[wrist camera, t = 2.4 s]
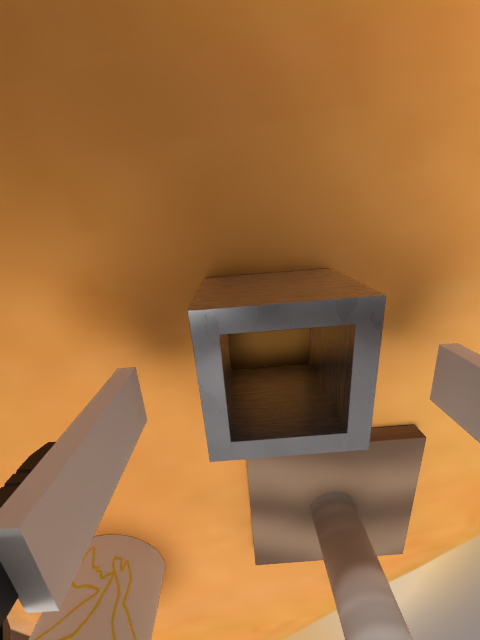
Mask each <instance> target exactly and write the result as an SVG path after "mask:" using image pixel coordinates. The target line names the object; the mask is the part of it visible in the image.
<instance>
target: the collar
mask: <svg viewBox="0 0 480 640" xmlns="http://www.w3.org/2000/svg"><path fill="white" fill-rule="evenodd" d="M385 301H386V295H384V294H382V293H380V292H378V291H376V290H374V289H372V288H370V287H367V286H365V285H363V284H361V283H359V282H357V281H355V280H353V279H351V278H348V277H346V276H344V275H342V274H340V273H338V272H336V271H334V270H332V269H329V268H326V269H314V270H301V271H288V272H275V273H263V274H250V275H237V276H224V277H212V278H204V280H203V282H202V284H201V286H200V288H199V290H198V292H197V294H196V296H195V298H194V300H193V302H192V304H191V306H190V307H189V309H188V316H189V323H190V330H191V336H192V343H193V350H194V357H195V364H196V370H197V377H198V384H199V391H200V398H201V404H202V411H203V418H204V425H205V432H206V438H207V445H208V452H209V459H210V462H214V461H227V460H240V459H253V458H266V457H279V456H292V455H305V454H318V453H331V452H344V451H357V450H369V442H370V433H371V425H372V416H373V407H374V398H375V389H376V380H377V372H378V363H379V354H380V345H381V336H382V328H383V319H384V310H385ZM299 328H310V364H304V365H292V366H279V367H266V368H253V369H240V370H231V361H230V351H229V340H228V334H235V333H248V332H261V331H274V330H286V329H299Z"/></svg>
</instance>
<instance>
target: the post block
mask: <svg viewBox="0 0 480 640" xmlns="http://www.w3.org/2000/svg"><path fill="white" fill-rule="evenodd" d="M425 441H426V437H425V435H424V434H423V433H422V432H421V431H420V430H419V429H418V428H417V427H416V425H405V426H392V427H379V428H371V433H370V442H369V450H357V451H344V452H331V453H318V454H305V455H292V456H279V457H266V458H253V459H247V471H248V482H249V494H250V506H251V517H252V529H253V540H254V552H255V564H256V565H264V564H277V563H291V562H304V561H317V560H324V563H325V566H326V570H327V574H328V577H329V581H330V585H331V588H332V592H333V596H334V600H335V603H336V607H337V611H338V614H339V618H340V622H341V626H342V629H343V632H344V637H345V640H413V639H412V637H411V634H410V632H409V630H408V628H407V625H406V623H405V621H404V618H403V616H402V613H401V611H400V609H399V607H398V604H397V602H396V600H395V597H394V595H393V593H392V591H391V588H390V586H389V583H388V581H387V579H386V576H385V574H384V572H383V569H382V567H381V565H380V562H379V560H378V558H377V556H382V555H395V554H403V550H404V545H405V540H406V535H407V530H408V525H409V520H410V515H411V510H412V505H413V501H414V496H415V491H416V486H417V481H418V476H419V471H420V466H421V461H422V456H423V451H424V446H425Z"/></svg>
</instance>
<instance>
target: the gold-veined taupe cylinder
mask: <svg viewBox="0 0 480 640" xmlns="http://www.w3.org/2000/svg"><path fill="white" fill-rule="evenodd" d="M164 571H165V563H164V560H163V558H162V556H161V555H160V553H159V552H158V551H157V550H156V549H155V548H154V547H152V546H151V545H149V544H148V543H146V542H144V541H142V540H139V539H136V538H133V537H129V536H124V535H101V536H96V537H93V538H92V540H91V543H90V545H89V547H88V549H87V551H86V553H85V556H84V558H83V560H82V562H81V564H80V566H79V569H78V571H77V573H76V575H75V577H74V579H73V582H72V584H71V586H70V588H69V590H68V592H67V595H66V597H65V599H64V601H63V603H62V605H61V608H60V610H59V611H49V612H42V614H41V616H40V618H39V620H38V622H37V624H36V626H35V628H34V630H33V632H32V634H31V636H30V639H29V640H151V638H152V632H153V627H154V622H155V617H156V612H157V607H158V602H159V597H160V592H161V587H162V581H163V576H164Z"/></svg>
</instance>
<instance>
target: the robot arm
mask: <svg viewBox="0 0 480 640" xmlns="http://www.w3.org/2000/svg"><path fill="white" fill-rule="evenodd" d="M430 400H431V401H432V402H433V403H435V404H436V405H437V406H438V407H439V408H440V409H441V410H443V411H444V412H445V413H446V414H447V415H448V416H449V417H451V418H452V419H453V420H454V421H455V422H456V423H457V424H459V425H460V426H461V427H462V428H463V429H464V430H466V431H467V432H468V433H469V434H470V435H471V436H472V437H474V438H475V439H476V440H477V441H478V442H479V443H480V355H479V354H477V353H475V352H473V351H471V350H469V349H468V348H466V347H464V346H462V345H460V344H458V343H454V344H441V345H439V350H438V356H437V361H436V367H435V373H434V378H433V384H432V390H431V395H430ZM146 421H147V417H146V412H145V408H144V403H143V399H142V394H141V390H140V385H139V381H138V376H137V372H136V367H133V368H120V369H117V370H116V372H115V373H114V374H113V375H112V376H111V377H110V379H109V380H108V381H107V382H106V383H105V385H104V386H103V387H102V388H101V389H100V391H99V392H98V393H97V394H96V395H95V396H94V398H93V399H92V400H91V401H90V402H89V404H88V405H87V406H86V407H85V408H84V410H83V411H82V412H81V413H80V414H79V415H78V417H77V418H76V419H75V420H74V421H73V423H72V424H71V425H70V426H69V427H68V429H67V430H66V431H65V432H64V433H63V434H62V436H61V437H60V438H59V439H58V440H57V442H48V443H47V444H45V445H44V446H42V447H41V448H40V449H38V450H37V451H36V452H34V453H33V454H32V455H30V456H29V457H28V459H27V460H26V461H25V462H24V463H23V464H22V465H21V466H20V467H19V469H18V470H17V472H16V474H13V475H12V476H11V477H10V478H9V480H8V481H7V482H6V483H5V486H4V487H1V488H0V640H10V626H9V623H8V620H7V618H6V617H7V615H8V614H9V612H10V610H11V609H12V607H13V605H14V603H15V602H16V600H17V598H18V599H19V600H20V602H21V604H22V606H23V608H24V610H25V611H26V613H34V612H49V611H59V610H60V608H61V605H62V603H63V601H64V599H65V597H66V595H67V592H68V590H69V588H70V586H71V584H72V582H73V579H74V577H75V575H76V573H77V571H78V569H79V566H80V564H81V562H82V560H83V558H84V556H85V553H86V551H87V549H88V547H89V545H90V543H91V540H92V538H93V536H94V534H95V532H96V530H97V528H98V525H99V523H100V521H101V519H102V517H103V515H104V512H105V510H106V508H107V506H108V504H109V502H110V499H111V497H112V495H113V493H114V491H115V489H116V486H117V484H118V482H119V480H120V478H121V476H122V473H123V471H124V469H125V467H126V465H127V463H128V460H129V458H130V456H131V454H132V452H133V450H134V447H135V445H136V443H137V441H138V439H139V437H140V434H141V432H142V430H143V428H144V426H145V424H146Z"/></svg>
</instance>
